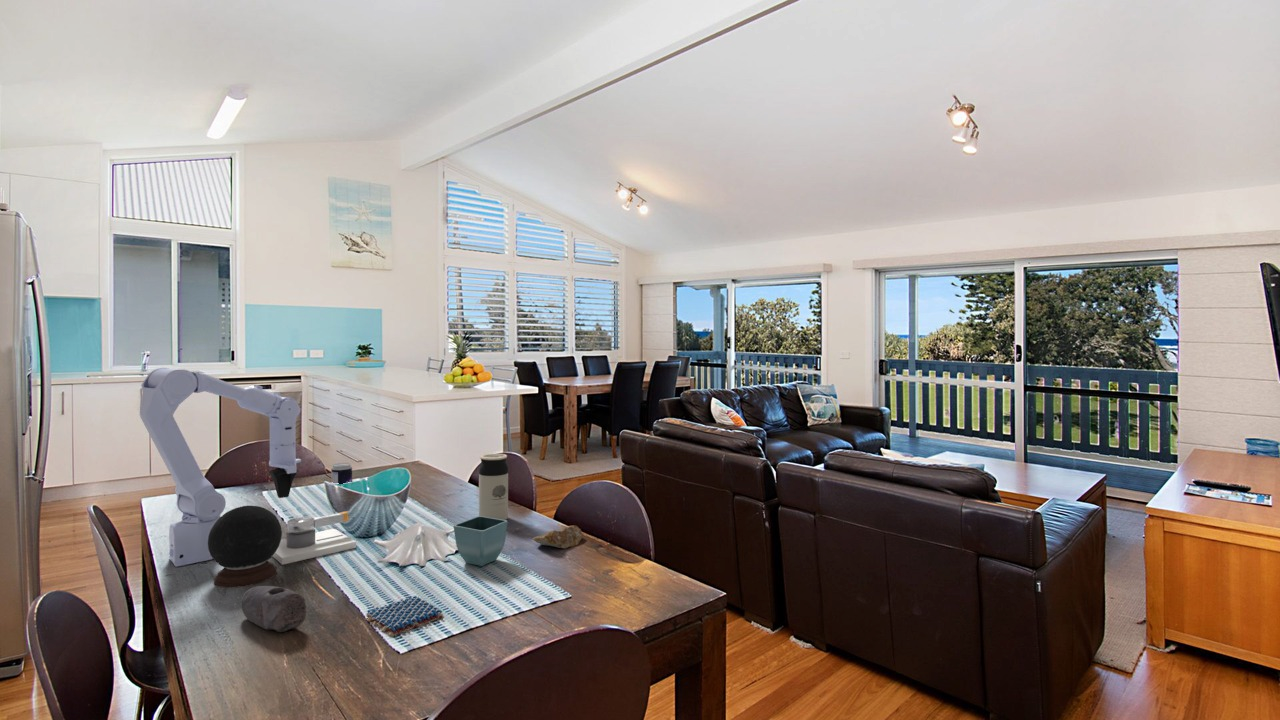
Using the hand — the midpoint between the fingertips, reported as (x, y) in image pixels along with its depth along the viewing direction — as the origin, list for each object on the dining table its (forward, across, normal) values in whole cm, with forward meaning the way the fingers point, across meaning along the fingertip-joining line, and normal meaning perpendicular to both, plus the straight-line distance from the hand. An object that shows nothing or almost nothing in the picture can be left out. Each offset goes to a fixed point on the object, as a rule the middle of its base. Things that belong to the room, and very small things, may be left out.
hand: (283, 497), depth 156 cm
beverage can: (+10, +21, -22) cm, 32 cm away
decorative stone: (+10, -54, -46) cm, 72 cm away
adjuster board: (+10, -15, -2) cm, 18 cm away
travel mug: (+10, -25, -46) cm, 53 cm away
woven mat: (+11, -66, -1) cm, 67 cm away
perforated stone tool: (+10, -52, +17) cm, 56 cm away
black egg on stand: (+10, -24, +14) cm, 30 cm away
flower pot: (+10, -51, -26) cm, 58 cm away
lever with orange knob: (+5, -15, -4) cm, 16 cm away
